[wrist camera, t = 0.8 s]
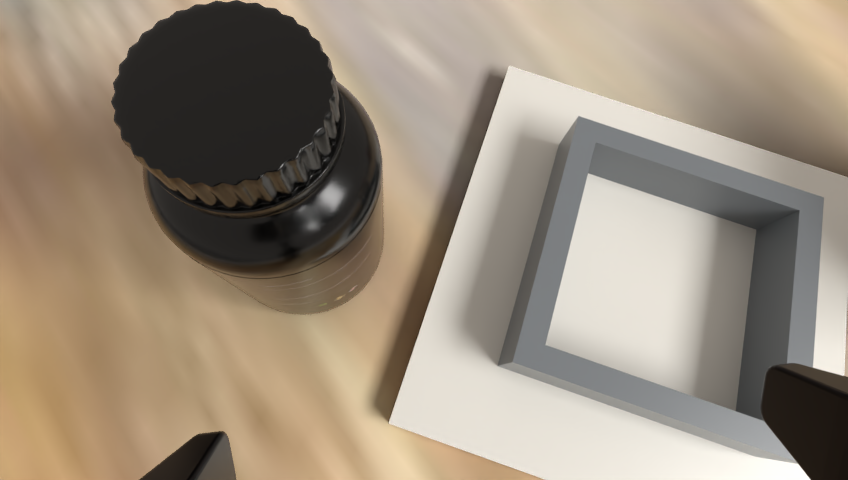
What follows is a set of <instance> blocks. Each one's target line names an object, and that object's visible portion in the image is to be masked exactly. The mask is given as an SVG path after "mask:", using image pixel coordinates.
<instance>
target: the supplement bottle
mask: <svg viewBox="0 0 848 480" xmlns="http://www.w3.org/2000/svg"><path fill="white" fill-rule="evenodd" d="M113 85H114V90H115V94H114V96H113V98H112V101H111V103H112V105H113V107H114V109H115V115H114V122H115V124H116V125H117V126H118V127H119V129H120V130H121V137H122V140H123V142H124V143H125V144H126V145H127V146H128V147H129V148H130V149H131V150H132V152H133V154H134V156H135V158H136V159H137V160H138V161H139V162H140V163H141V164H142V165H143V180H144V189H145V193H146V198H147V201H148V204H149V207H150V209H151V211H152V213H153V215H154V217H155V219H156V221H157V223H158V224H159V226H160V228H161V229H162V230H163V232H164V233H165V234H166V235H167V237H168V238H169V239H170V240H171V241H172V242H173V243H174V244H175V245H176V246H177V247H178V248H180V249H181V250H182V251H183V252H184V253H186V254H187V255H188V256H189V257H191V258H192V259H194V260H195V261H197V262H198V263H200V264H201V265H203V266H204V267H206V268H207V269H209V270H210V271H212V272H213V273H215V274H217V275H218V276H220V277H221V278H223V279H224V280H226V281H227V282H229V283H230V284H232V285H234V286H235V287H237V288H238V289H240V290H241V291H243V292H244V293H246V294H247V295H249V296H251V297H252V298H254V299H255V300H257V301H258V302H260V303H262V304H264V305H266V306H268V307H270V308H273V309H275V310H278V311H282V312H286V313H291V314H315V313H321V312H325V311H328V310H331V309H334V308H336V307H338V306H341V305H342V304H344V303H346V302H348V301H349V300H350V299H352V298H353V297H354V296H356V295H357V294H358V293H359V292H360V291H361V290H362V289H363V288H364V287H365V286H366V285H367V283H368V282H369V281H370V279H371V278H372V276H373V275H374V273H375V271H376V269H377V267H378V264H379V261H380V258H381V255H382V250H383V242H384V218H383V176H382V156H381V149H380V144H379V140H378V136H377V133H376V130H375V128H374V125H373V123H372V121H371V119H370V117H369V115H368V114H367V112H366V111H365V109H364V108H363V106H362V105H361V104H360V102H359V101H358V100H357V99H356V98H355V97H354V96H353V95H352V94H351V93H350V92H349V91H348V90H347V89H346V88H345V87H344V86H342V85H341V84H340V83H338V82H337V81H336V78H335V76H334V74H333V71H332V66H331V61H330V59H329V57H328V56H327V55H326V54H325V53H324V52H323V49H322V46H321V44H320V42H319V41H318V40H316V39H315V38H313V37H312V36H311V34H310V32H309V30H308V29H307V28H306V27H304V26H301V25H299V24H297V22H296V20H295V19H294V18H293V17H290V16H287V15H283V14H281V13H280V12H279V11H278V10H277V9H275V8H265V7H263V6H262V5H260V4H258V3H244V2H241V1H238V0H236V1H231V2H222V1H215V2H212V3H209V4H207V5H202V4H197V5H194V6H193V7H191V8H189V9H188V10H181V11H176V12H175V13H174V14H173V15H171V16H170V17H169V18H166V19H163V20H160V21H158V22H157V23H156V24H155V26H154V27H153V28H152V29H151V30H149V31H146V32H144V33H143V34H142V35H141V37H140V39H139V41H138V42H137V43H136V44H134V45H133V46H132V47H130V48H129V51H128V54H127V58H126V59H125V60H124V61H123V62H122V63H121V64H120V65H119V75H118V77H117V78H116V79H115V81H114V83H113Z"/></svg>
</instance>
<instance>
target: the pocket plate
mask: <svg viewBox="0 0 848 480" xmlns="http://www.w3.org/2000/svg"><path fill="white" fill-rule="evenodd" d="M847 300H848V177H846V176H843V175H840V174H837V173H834V172H831V171H828V170H825V169H822V168H819V167H816V166H812V165H809V164H806V163H803V162H800V161H797V160H794V159H791V158H788V157H785V156H782V155H779V154H776V153H773V152H770V151H767V150H764V149H761V148H758V147H755V146H752V145H749V144H746V143H743V142H740V141H737V140H734V139H731V138H728V137H725V136H722V135H718V134H715V133H712V132H709V131H706V130H703V129H700V128H697V127H694V126H691V125H688V124H685V123H682V122H679V121H676V120H673V119H670V118H667V117H664V116H661V115H658V114H655V113H652V112H649V111H646V110H643V109H640V108H637V107H634V106H631V105H628V104H624V103H621V102H618V101H615V100H612V99H609V98H606V97H603V96H600V95H597V94H594V93H591V92H588V91H585V90H582V89H579V88H576V87H573V86H570V85H567V84H564V83H561V82H558V81H555V80H552V79H549V78H546V77H543V76H540V75H537V74H534V73H530V72H527V71H524V70H521V69H518V68H515V67H512V66H509V68H508V70H507V73H506V76H505V78H504V81H503V84H502V87H501V90H500V93H499V96H498V99H497V102H496V105H495V108H494V111H493V114H492V117H491V120H490V123H489V126H488V129H487V132H486V135H485V138H484V141H483V144H482V147H481V150H480V152H479V155H478V158H477V161H476V164H475V167H474V170H473V173H472V176H471V179H470V182H469V185H468V188H467V191H466V194H465V197H464V200H463V203H462V206H461V209H460V212H459V215H458V218H457V221H456V224H455V227H454V230H453V233H452V235H451V238H450V241H449V244H448V247H447V250H446V253H445V256H444V259H443V262H442V265H441V268H440V271H439V274H438V277H437V280H436V283H435V286H434V289H433V292H432V295H431V298H430V301H429V304H428V307H427V310H426V313H425V315H424V318H423V321H422V324H421V327H420V330H419V333H418V336H417V339H416V342H415V345H414V348H413V351H412V354H411V357H410V360H409V363H408V366H407V369H406V372H405V375H404V378H403V381H402V384H401V387H400V390H399V393H398V396H397V398H396V401H395V404H394V407H393V410H392V413H391V416H390V419H389V424H392V425H394V426H397V427H400V428H403V429H406V430H408V431H411V432H414V433H417V434H419V435H422V436H425V437H428V438H431V439H433V440H436V441H439V442H442V443H445V444H447V445H450V446H453V447H456V448H459V449H461V450H464V451H467V452H470V453H472V454H475V455H478V456H481V457H484V458H486V459H489V460H492V461H495V462H498V463H500V464H503V465H506V466H509V467H512V468H514V469H517V470H520V471H523V472H525V473H528V474H531V475H534V476H537V477H539V478H542V479H545V480H810V478H809V477H808V476H807V475H806V473H805V472H804V471H803V470H802V468H801V467H800V466H799V465H798V463H797V462H796V461H795V460H794V458H793V457H792V456H791V454H790V453H789V452H788V451H787V449H786V448H785V447H784V446H783V444H782V443H781V442H780V441H779V439H778V438H777V437H776V436H775V434H774V433H773V432H772V431H771V429H770V428H769V427H768V426H767V424H766V423H765V422H764V420H763V418H762V415H761V412H760V403H761V397H762V390H763V384H764V378H765V373H766V371H767V369H768V368H769V367H771V366H773V365H779V364H787V363H797V364H801V365H805V366H809V367H812V368H816V369H820V370H824V371H827V372H831V373H835V374H838V375H842V376H844V368H845V345H846V323H847Z"/></svg>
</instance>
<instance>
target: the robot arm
mask: <svg viewBox="0 0 848 480" xmlns="http://www.w3.org/2000/svg"><path fill="white" fill-rule="evenodd" d="M760 412H761V415H762V418H763V420H764V422H765V423H766V424H767V426H768V427H769V428H770V429H771V431H772V432H773V433H774V434H775V436H776V437H777V438H778V439H779V441H780V442H781V443H782V444H783V446H784V447H785V448H786V449H787V451H788V452H789V453H790V454H791V456H792V457H793V458H794V460H795V461H796V462H797V463H798V465H799V466H800V467H801V468H802V470H803V471H804V472H805V473H806V475H807V476H808V477H809V478H810V480H848V377H846V376H842V375H838V374H835V373H831V372H827V371H824V370H820V369H816V368H812V367H809V366H805V365H801V364H797V363H787V364H779V365H773V366H771V367H769V368H768V369H767V371H766V373H765V378H764V384H763V390H762V397H761V403H760ZM140 480H236V474H235V468H234V463H233V458H232V453H231V448H230V443H229V438H228V436H227V434H226V433H225V432H223V431H219V432H210V433H202V434H198V435H196V436H194V437H193V438H191V439H190V440H189V441H188V442H186V443H185V444H184V445H183V446H181V447H180V448H179V449H178V450H176V451H175V452H174V453H172V454H171V455H170V456H169V457H167V458H166V459H165V460H164V461H162V462H161V463H160V464H159V465H157V466H156V467H155V468H153V469H152V470H151V471H150V472H148V473H147V474H146V475H145V476H143V477H142V478H141V479H140Z"/></svg>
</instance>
